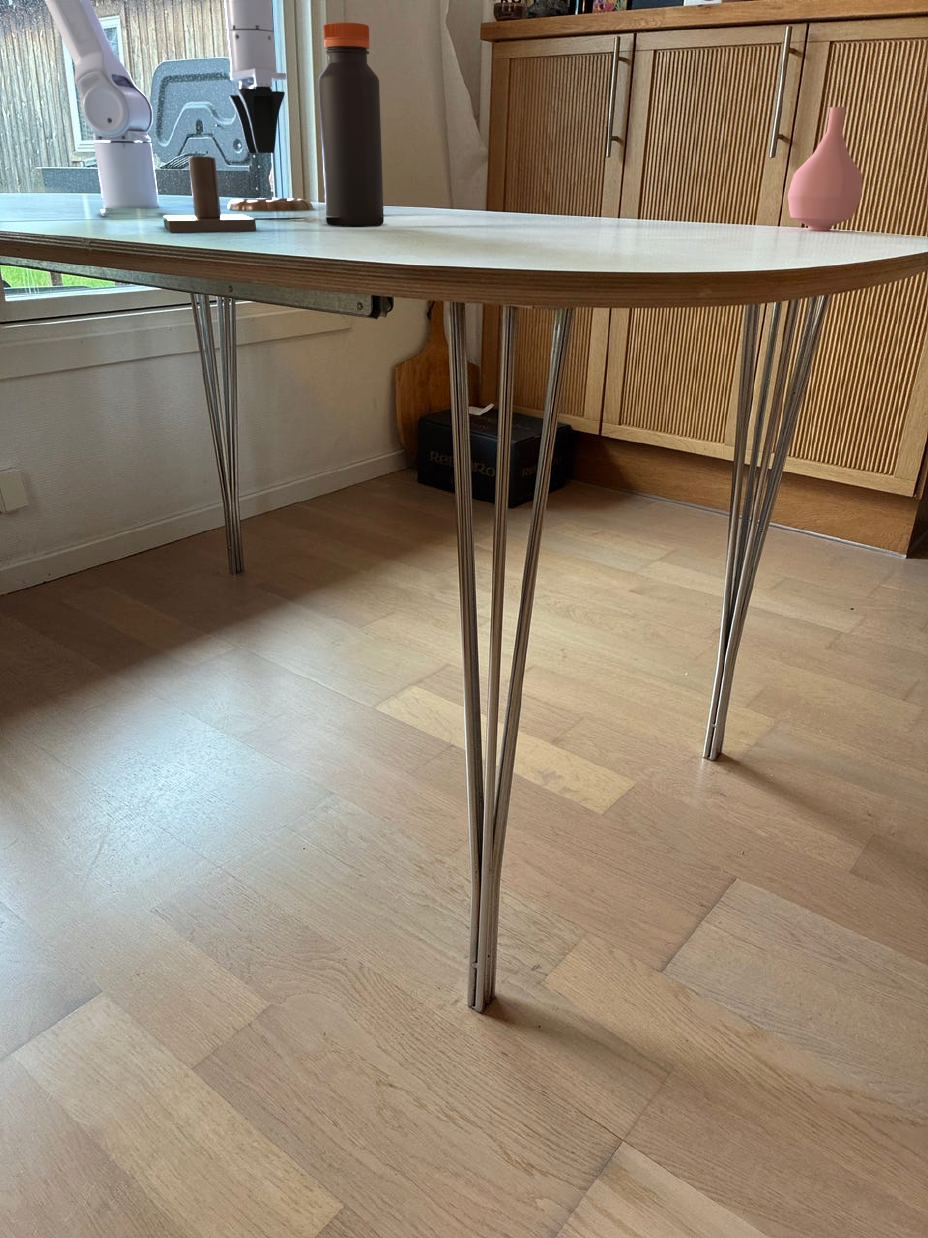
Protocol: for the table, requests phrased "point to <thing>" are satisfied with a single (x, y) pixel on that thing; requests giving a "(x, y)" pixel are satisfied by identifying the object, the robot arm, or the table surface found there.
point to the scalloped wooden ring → (270, 205)
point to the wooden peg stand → (206, 204)
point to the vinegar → (350, 129)
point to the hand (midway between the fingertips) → (261, 153)
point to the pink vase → (826, 181)
